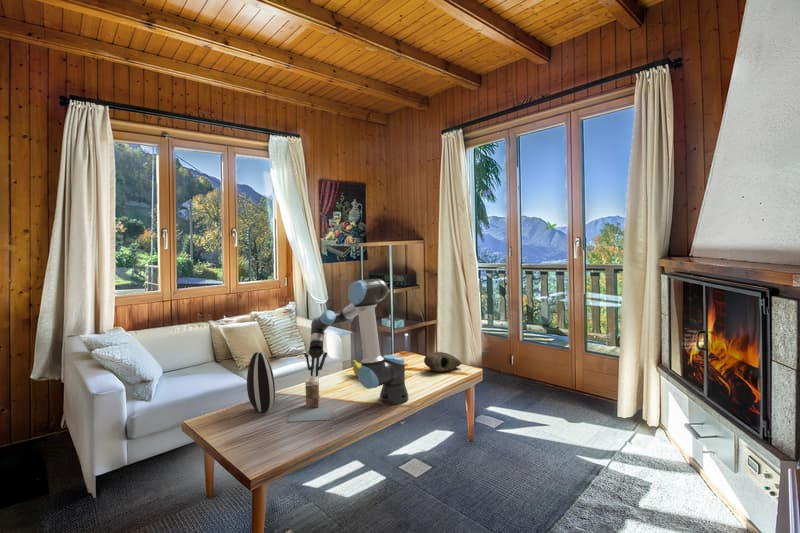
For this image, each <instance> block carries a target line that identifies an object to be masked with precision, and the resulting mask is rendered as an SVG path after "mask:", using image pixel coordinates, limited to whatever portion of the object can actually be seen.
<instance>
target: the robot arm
mask: <svg viewBox="0 0 800 533" xmlns="http://www.w3.org/2000/svg"><path fill="white" fill-rule="evenodd" d="M388 293H389V287H388V285H387V283H386V281H384V280H383V279H381V278H371V279H359V280H356V281H353V282H352V283H351V284H349V288H348V290H347V297H348V298H347V299H348V301H349V302H350V304H348V305H347V306H345V307H344V308H342V309H341V310H339V311H338V310H337V311H333V310H330V309H328V310H325V311H323V313H322V314H321V315H320V316H319V317H315V318H313V319H312V321H311V324H310V337H309V338H310V339H309V340H310V341H309V349H308V352H305V353H303V356H304V358H305V361H306V366H307V370H308V371H310V377H311V378H317V377H318V376H319V371H322V370H323V367H324V364H325V361H326V358H327V357H328V352H326V351H325V350H324V338H325V336H324V335H325V331H326V330H327V329H329V327H331V326H337V325H341V324H348V323H350V322H353V320H354V319H355V317H356V316H358V323H359V329H360V330H359V331H360V340H361V346H362V347H361V349H362V354H363V358H362V360H360V362H361V365H362V366H361V367H360V368H359V370H358V376H357V377H358V381H359V383H360V384H361V385H362V386H363V387H364V388H366V389H368V390H369V389H371V390H372V389H376V388H378V387H380V386H382V387H381V390H380V393H379V401H380V402H381V403H383V404H386V405H401V404H404V403H406V402H407V401H409V393H408V390H407V386H406V381H405V380H406V378H405V374H406V373H405V372H406V371H405V370H406V369H405V368H406V364H405V358H404V357H403V356H400V355H397V354H396V355H395V354H385V355H384V354H383V356H382V354H381V350H380V342H379V341H380V340H379V333H378V325H377V317H376V310H375V309H376V307H377V305H378V303H380V302H382V301H383V300H385V299H386V297H387V295H388ZM309 356H310V357H311V363H310V359H309ZM321 357H322V358H321ZM320 358H321V361H320ZM315 359H316V360H315ZM315 362H316V363H315ZM310 364H311V365H310Z"/></svg>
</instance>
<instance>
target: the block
mask: <svg viewBox="0 0 800 533" xmlns="http://www.w3.org/2000/svg"><path fill="white" fill-rule="evenodd" d="M319 378H320V377H316V378H312V377H307V378H306V379H305V409H312V408H320V407H319V406H320V405H321V404H320V381H319V380H320V379H319Z"/></svg>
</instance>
